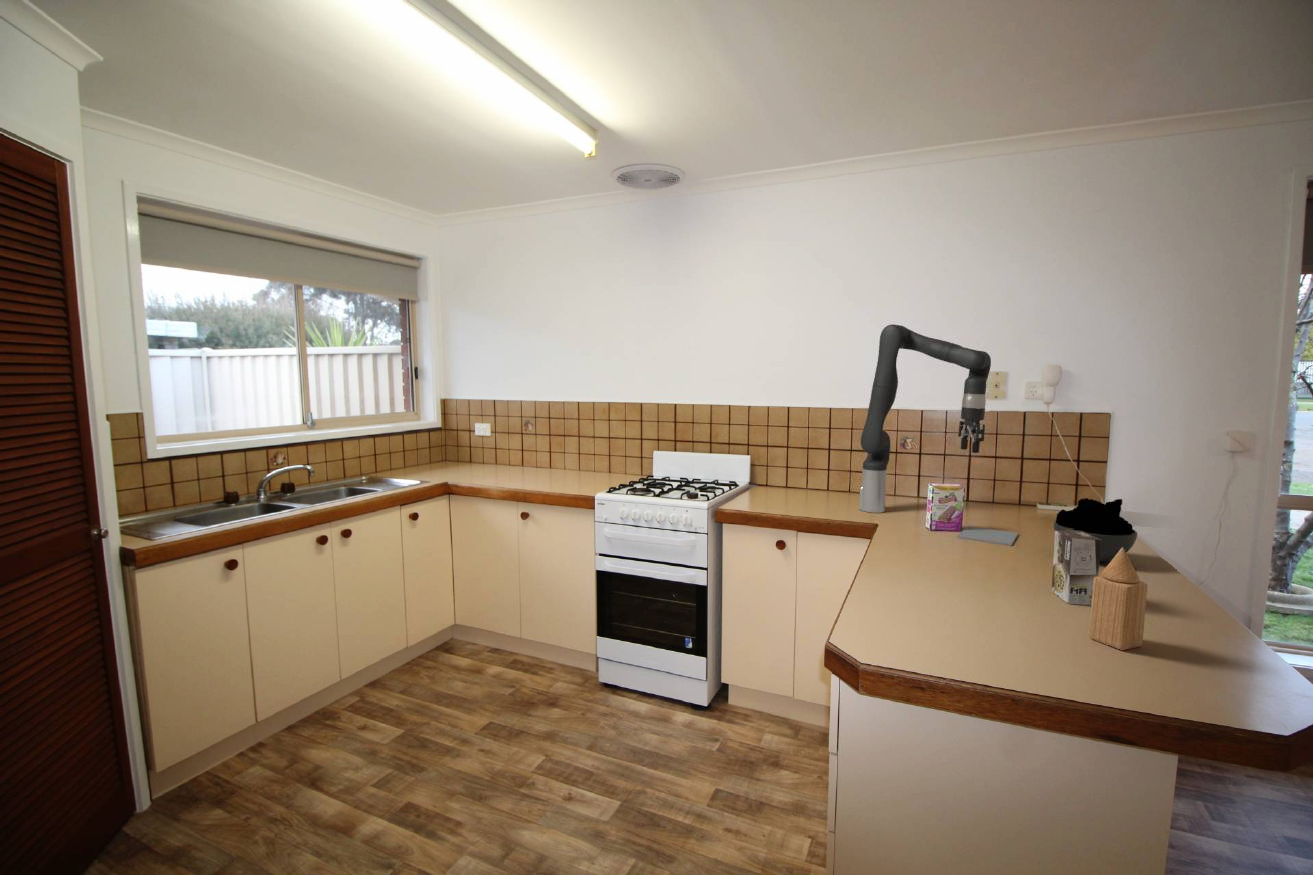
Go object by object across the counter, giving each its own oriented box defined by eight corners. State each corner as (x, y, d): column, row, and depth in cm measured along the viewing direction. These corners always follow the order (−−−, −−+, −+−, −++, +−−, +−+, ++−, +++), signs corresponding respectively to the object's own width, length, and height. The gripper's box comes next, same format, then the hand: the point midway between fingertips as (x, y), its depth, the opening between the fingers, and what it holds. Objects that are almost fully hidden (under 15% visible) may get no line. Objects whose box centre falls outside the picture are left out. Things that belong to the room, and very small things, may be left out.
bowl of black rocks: (1055, 564, 172) (1060, 500, 171) (1047, 547, 190) (1051, 489, 188) (1142, 574, 163) (1148, 507, 161) (1125, 556, 181) (1130, 495, 179)
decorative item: (1087, 638, 122) (1094, 543, 120) (1108, 633, 125) (1116, 540, 123) (1122, 652, 116) (1130, 552, 114) (1143, 646, 119) (1152, 549, 117)
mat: (957, 537, 201) (957, 535, 201) (967, 527, 216) (967, 525, 215) (1011, 545, 192) (1011, 543, 192) (1018, 534, 206) (1018, 532, 206)
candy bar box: (930, 531, 210) (932, 485, 208) (925, 527, 215) (927, 483, 213) (963, 532, 209) (965, 486, 207) (957, 528, 214) (959, 483, 212)
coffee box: (1097, 606, 140) (1102, 539, 138) (1067, 604, 141) (1072, 538, 140) (1078, 592, 149) (1083, 530, 147) (1050, 590, 150) (1054, 528, 149)
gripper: (953, 405, 220) (950, 448, 222) (972, 407, 206) (968, 453, 208) (974, 405, 220) (970, 448, 222) (994, 408, 206) (990, 454, 208)
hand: (969, 451), depth 215 cm, fingers open, 8 cm apart
